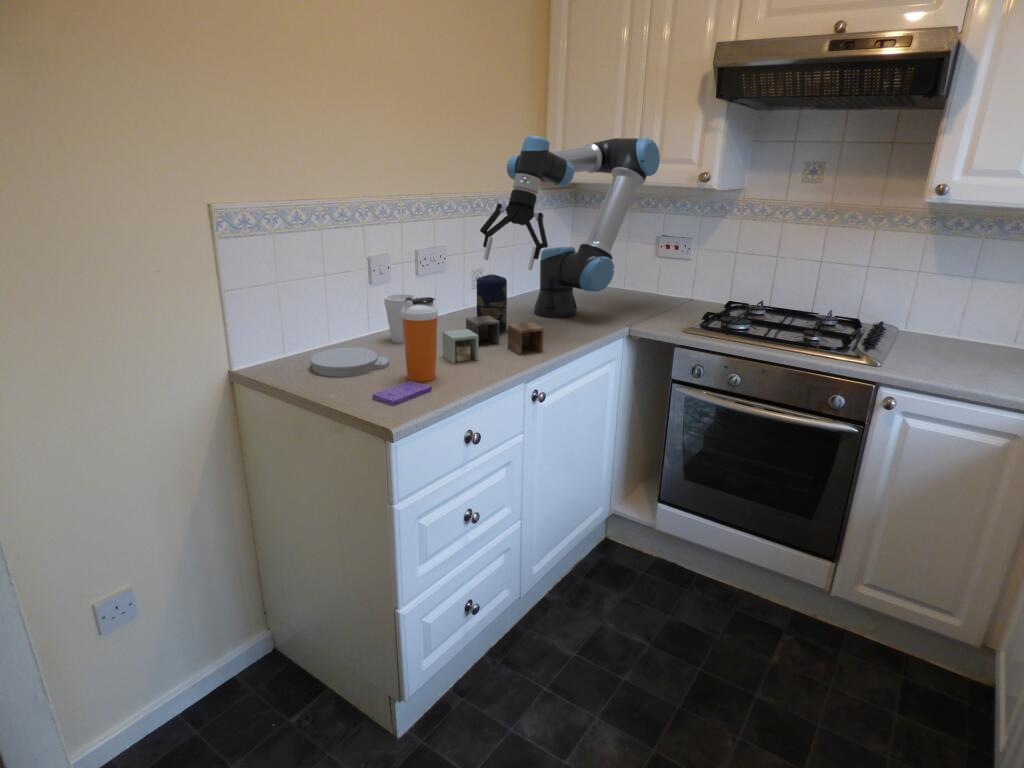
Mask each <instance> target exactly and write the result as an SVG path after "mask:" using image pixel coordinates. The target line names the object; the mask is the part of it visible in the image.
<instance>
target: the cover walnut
mask: <svg viewBox="0 0 1024 768" xmlns="http://www.w3.org/2000/svg"><path fill="white" fill-rule="evenodd" d="M526 347H530V348H532V349H534V350H536V351H538V352H539V353H543V351H544V327H542V326H541V325H538V324H537V323H534V322H531V321H528V322H520V323H519V322H517V323H507V349H508V350H510V351H513V352H514V353H515V354H517V355H519V356H521V355H522V354H523V353H522V351H523V350H522V349H523V348H526Z"/></svg>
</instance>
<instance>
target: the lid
mask: <svg viewBox="0 0 1024 768" xmlns="http://www.w3.org/2000/svg"><path fill="white" fill-rule="evenodd" d="M309 361H310V364H311V365H312V370H313V372H314V373H316V374H318V375H321V376H325V377H332V378H333V377H334V378H335V377H336V378H337V377H340V378H341V377H343V378H345V377H351V376H352V377H353V376H359V375H364V374H367V373H369V372H372V371H373V372H374V371H379V370H384V369H387V368H389V367H390V359H388V357H387V356H383V355H381V354H378V353H377V352H376V351H374V350H372V349H368V348H364V347H337V348H330V349H325V350H322V351H319V352H316V353H314V354H313V355H312V356H311V357H310V358H309Z"/></svg>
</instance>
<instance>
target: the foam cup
mask: <svg viewBox="0 0 1024 768" xmlns="http://www.w3.org/2000/svg"><path fill="white" fill-rule="evenodd" d="M407 297H411V298H412V299H416V298H418V297H417V295H416V294H409V293H392V294H388V295H385V296H384V297H383V298H384V307H385V310H386V316H387V322H388V327H389V334H390V338H391V341H392V342H393V343H396V344H397V343H398V344H399V343H401V344H404V333H403V322H402V318H401V309H402V308H403V306H404V305H405V299H406V298H407Z"/></svg>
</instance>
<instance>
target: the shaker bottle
mask: <svg viewBox="0 0 1024 768" xmlns="http://www.w3.org/2000/svg"><path fill="white" fill-rule="evenodd" d="M434 301H435V297H431V296H430V297H428V296H427V297H426V296H424V297H417V298H416V299H412V298H411V297H407V298H406V299H405V305H404V306H403V308H402V309H401V318H402V322H403V333H404V343H403V344H404V353H405V355H404V356H405V364H406V376H407V379H408V381H410V380H411V381H414V382H417V383H423V382H430V381H433V380H434V379H436V377H437V347H438V346H437V345H438V344H437V342H438V341H437V337H438V336H437V335H438V333H437V332H438V317H439V311H438V310H439V309H438V308H437V306H436V305H434Z"/></svg>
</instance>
